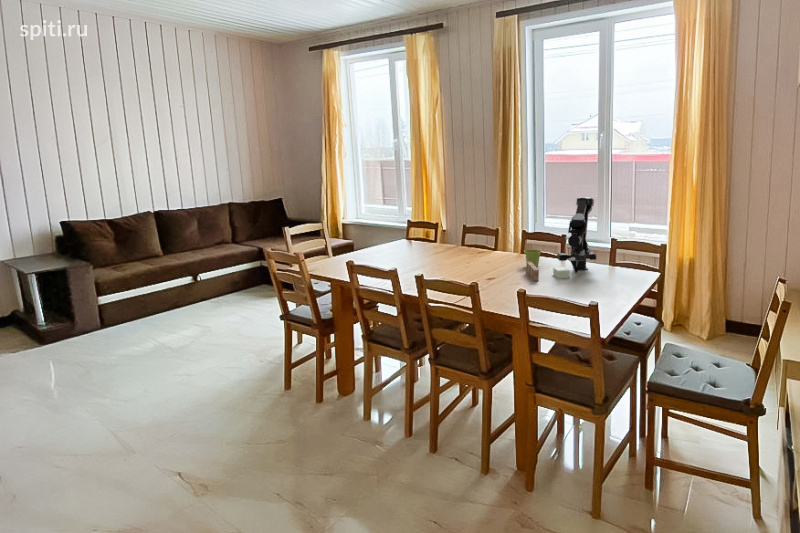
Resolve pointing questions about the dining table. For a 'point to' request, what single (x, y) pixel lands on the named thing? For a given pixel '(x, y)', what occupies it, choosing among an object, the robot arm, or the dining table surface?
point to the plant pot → (532, 256)
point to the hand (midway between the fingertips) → (575, 272)
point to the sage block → (561, 272)
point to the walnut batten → (532, 271)
